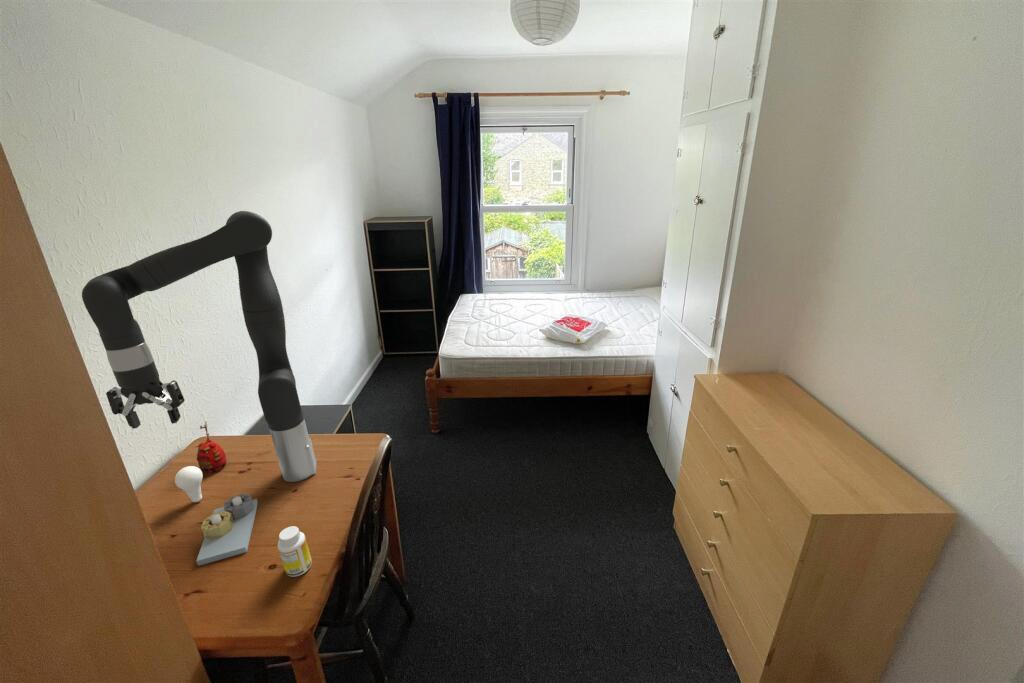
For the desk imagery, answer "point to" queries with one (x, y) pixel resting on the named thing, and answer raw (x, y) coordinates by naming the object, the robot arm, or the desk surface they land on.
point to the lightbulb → (190, 482)
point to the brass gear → (218, 526)
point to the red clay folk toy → (210, 455)
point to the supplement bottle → (294, 551)
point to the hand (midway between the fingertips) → (156, 424)
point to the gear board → (237, 537)
